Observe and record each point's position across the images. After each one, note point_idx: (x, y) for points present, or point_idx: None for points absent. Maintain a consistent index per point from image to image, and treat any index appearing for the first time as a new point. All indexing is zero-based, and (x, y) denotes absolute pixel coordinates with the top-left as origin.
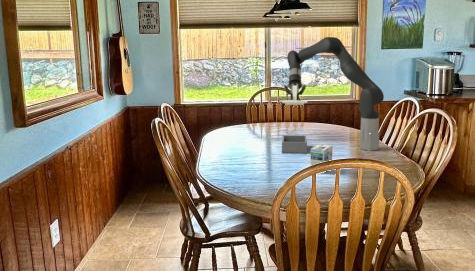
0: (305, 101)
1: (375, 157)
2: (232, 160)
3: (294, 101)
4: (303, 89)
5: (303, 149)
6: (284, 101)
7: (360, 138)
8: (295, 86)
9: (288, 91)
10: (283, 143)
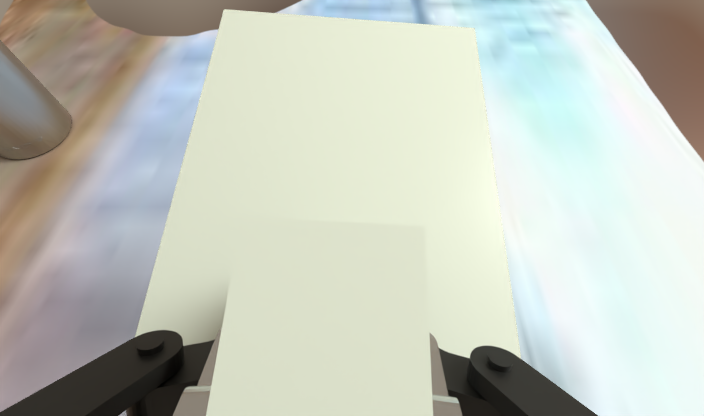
0: (239, 16)
1: (88, 38)
2: (522, 25)
3: (352, 19)
4: (5, 412)
5: None
6: (452, 26)
7: (37, 95)
8: (309, 233)
9: (502, 356)
10: None
